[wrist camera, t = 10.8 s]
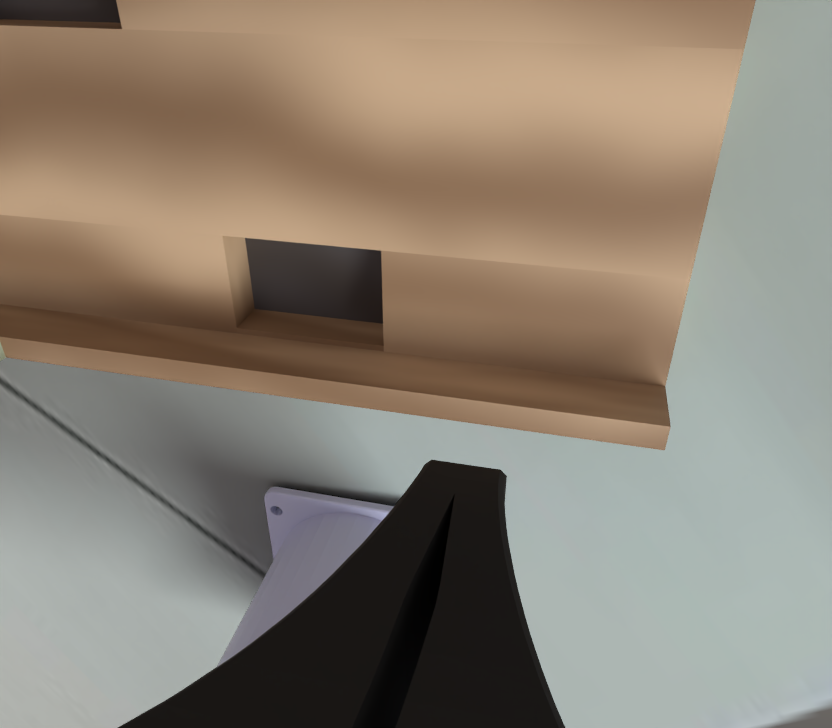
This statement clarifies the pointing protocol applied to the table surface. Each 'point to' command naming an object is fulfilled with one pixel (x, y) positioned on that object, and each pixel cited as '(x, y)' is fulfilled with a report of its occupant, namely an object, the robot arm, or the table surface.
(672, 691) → the table surface
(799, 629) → the table surface
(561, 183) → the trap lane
